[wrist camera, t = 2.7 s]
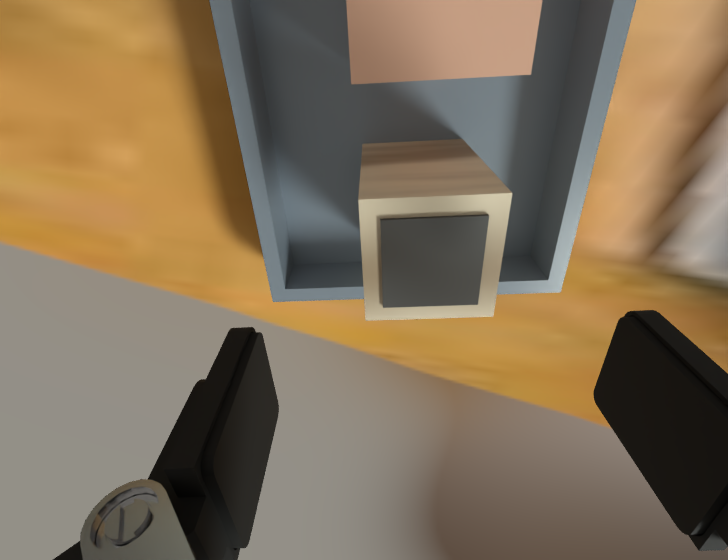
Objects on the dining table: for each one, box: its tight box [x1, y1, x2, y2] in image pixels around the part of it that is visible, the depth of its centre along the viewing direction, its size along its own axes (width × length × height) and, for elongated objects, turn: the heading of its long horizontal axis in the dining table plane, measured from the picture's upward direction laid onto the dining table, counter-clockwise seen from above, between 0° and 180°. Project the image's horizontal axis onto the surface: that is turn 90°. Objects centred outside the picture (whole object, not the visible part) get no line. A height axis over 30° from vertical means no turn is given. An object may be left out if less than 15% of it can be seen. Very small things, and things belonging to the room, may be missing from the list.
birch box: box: [358, 139, 512, 321], centre depth 17 cm, size 5×5×8 cm
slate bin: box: [209, 0, 636, 302], centre depth 18 cm, size 19×16×4 cm
